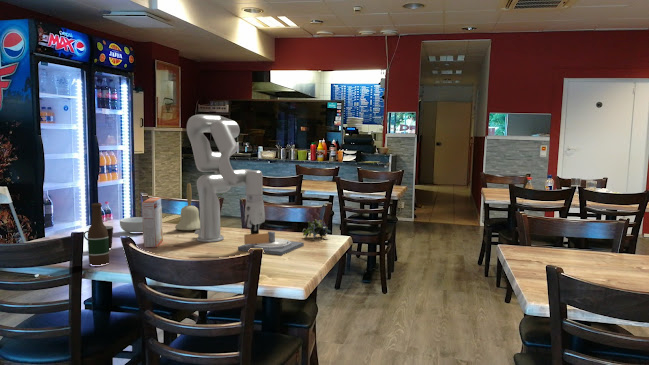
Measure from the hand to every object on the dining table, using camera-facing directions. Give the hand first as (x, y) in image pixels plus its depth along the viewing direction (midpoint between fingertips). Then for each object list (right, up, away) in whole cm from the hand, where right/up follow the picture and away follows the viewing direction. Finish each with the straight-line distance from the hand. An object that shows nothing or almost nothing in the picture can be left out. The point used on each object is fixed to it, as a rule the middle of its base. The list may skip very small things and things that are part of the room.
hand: (254, 238), depth 222 cm
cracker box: (-48, -4, +7) cm, 48 cm away
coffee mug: (-67, -5, -4) cm, 68 cm away
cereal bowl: (-66, -1, +35) cm, 74 cm away
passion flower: (+27, -2, +21) cm, 34 cm away
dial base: (+7, -4, 0) cm, 8 cm away
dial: (+5, -2, -1) cm, 6 cm away
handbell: (-40, 0, +42) cm, 58 cm away
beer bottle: (-57, -7, -28) cm, 64 cm away
